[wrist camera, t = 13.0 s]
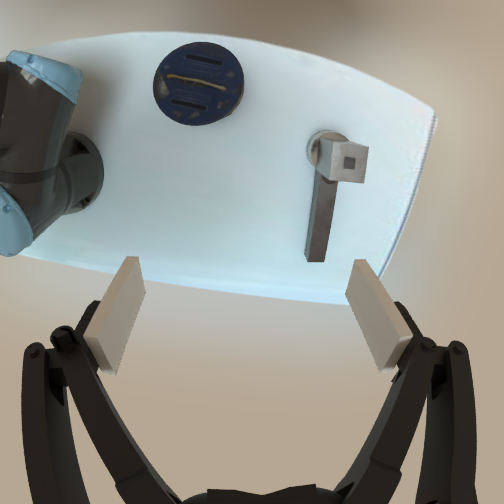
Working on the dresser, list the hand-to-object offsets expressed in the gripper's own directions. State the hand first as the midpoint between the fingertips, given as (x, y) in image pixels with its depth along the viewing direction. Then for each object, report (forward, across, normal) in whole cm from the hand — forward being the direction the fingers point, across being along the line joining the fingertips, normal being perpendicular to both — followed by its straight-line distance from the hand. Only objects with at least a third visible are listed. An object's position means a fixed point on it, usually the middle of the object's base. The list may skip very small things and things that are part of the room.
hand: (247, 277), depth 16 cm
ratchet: (+32, +14, -5) cm, 35 cm away
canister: (+32, -5, +12) cm, 34 cm away
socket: (+28, +14, +3) cm, 32 cm away
